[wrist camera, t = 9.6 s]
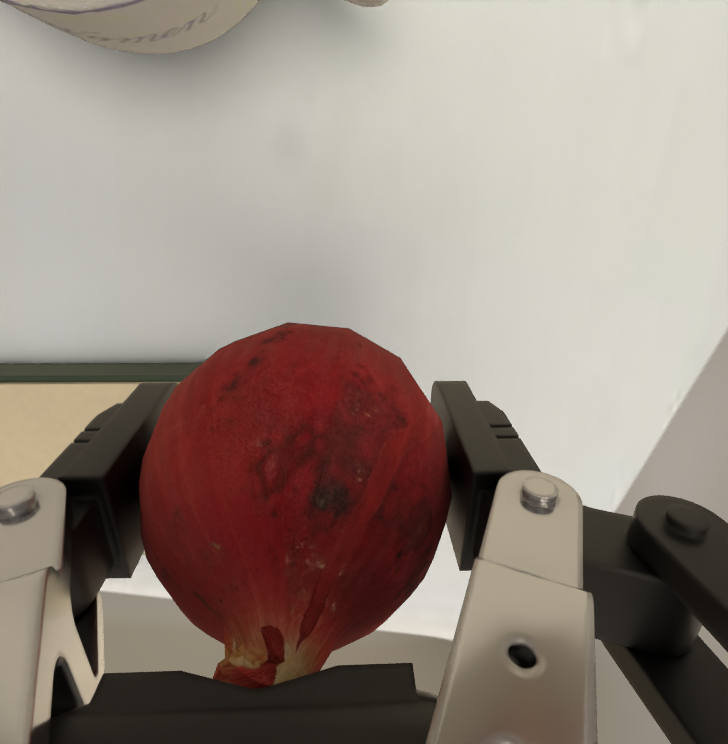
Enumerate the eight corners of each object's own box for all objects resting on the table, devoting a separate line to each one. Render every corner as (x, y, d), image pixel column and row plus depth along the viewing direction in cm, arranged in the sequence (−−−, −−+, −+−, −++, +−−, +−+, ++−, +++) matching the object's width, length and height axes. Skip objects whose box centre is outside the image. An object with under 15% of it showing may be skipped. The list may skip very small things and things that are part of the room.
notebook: (-15, 539, 27) (-36, 562, 25) (-91, 363, 22) (-123, 378, 20) (250, 533, 27) (245, 555, 26) (231, 362, 23) (223, 377, 21)
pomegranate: (262, 237, 11) (106, 405, 4) (461, 350, 12) (630, 631, 5) (170, 423, 13) (-47, 769, 6) (351, 501, 14) (360, 856, 7)
